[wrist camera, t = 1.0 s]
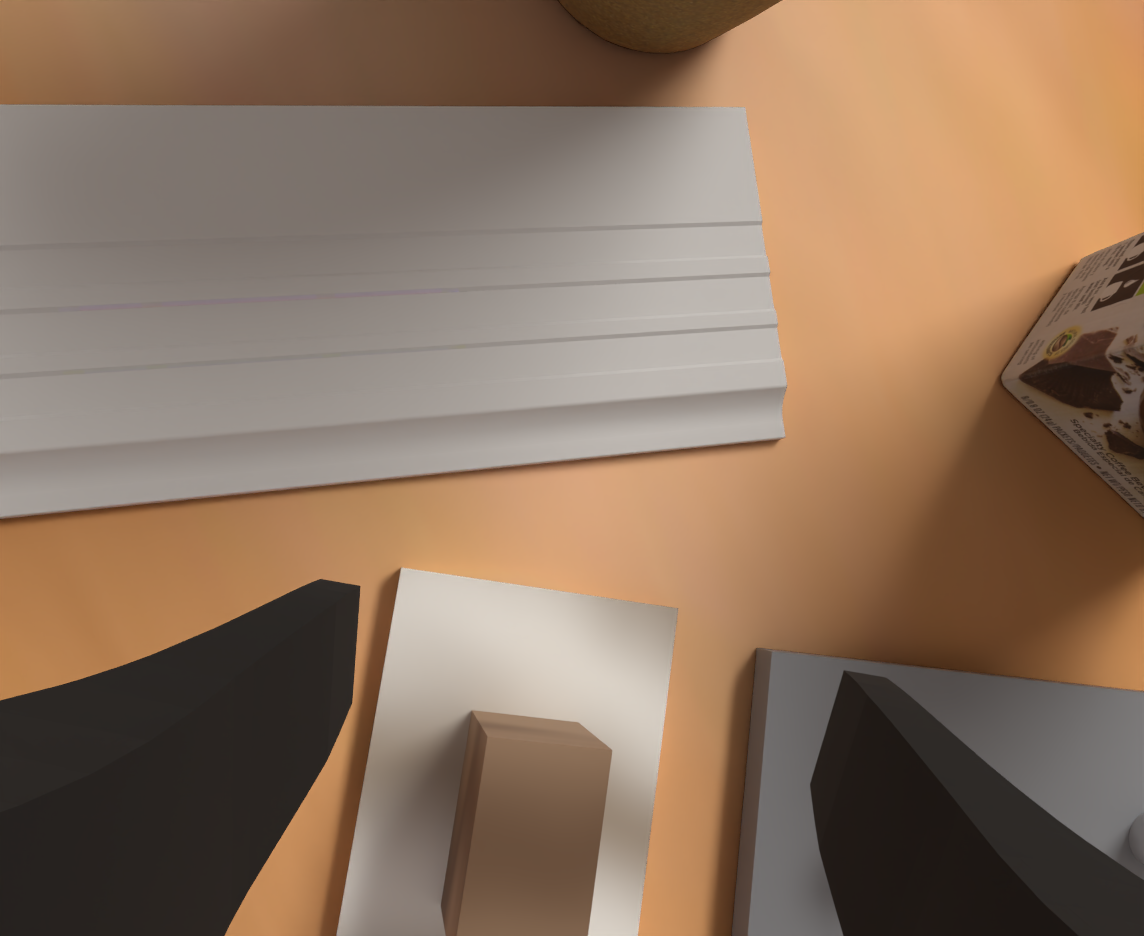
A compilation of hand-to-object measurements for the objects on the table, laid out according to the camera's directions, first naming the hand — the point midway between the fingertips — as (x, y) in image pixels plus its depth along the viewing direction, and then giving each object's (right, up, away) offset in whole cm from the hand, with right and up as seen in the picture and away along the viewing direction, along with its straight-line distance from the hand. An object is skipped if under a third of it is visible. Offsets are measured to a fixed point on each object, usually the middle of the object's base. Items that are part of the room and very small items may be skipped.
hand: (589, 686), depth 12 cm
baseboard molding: (-9, +7, +11) cm, 16 cm away
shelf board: (-2, -6, +11) cm, 13 cm away
